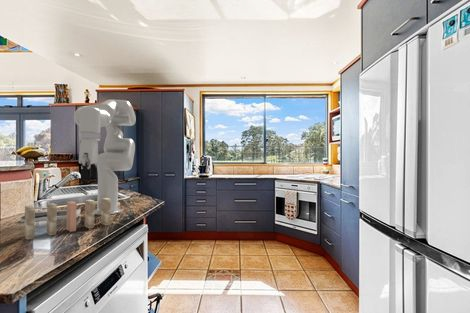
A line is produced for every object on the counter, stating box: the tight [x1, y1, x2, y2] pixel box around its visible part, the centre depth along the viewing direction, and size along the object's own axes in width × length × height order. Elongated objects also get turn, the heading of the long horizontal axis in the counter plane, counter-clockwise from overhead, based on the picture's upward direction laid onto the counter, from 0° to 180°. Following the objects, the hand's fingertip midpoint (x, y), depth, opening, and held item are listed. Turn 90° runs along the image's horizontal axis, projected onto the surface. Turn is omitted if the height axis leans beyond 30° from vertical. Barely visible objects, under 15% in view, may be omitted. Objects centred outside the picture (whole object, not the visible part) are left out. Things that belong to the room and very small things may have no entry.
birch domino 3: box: [84, 199, 96, 229], centre depth 103 cm, size 2×5×11 cm, turn 48°
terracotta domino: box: [65, 200, 78, 232], centre depth 99 cm, size 2×5×11 cm, turn 49°
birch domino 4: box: [100, 198, 112, 226], centre depth 108 cm, size 2×5×11 cm, turn 48°
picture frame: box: [19, 208, 82, 223], centre depth 120 cm, size 16×3×21 cm
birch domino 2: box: [46, 202, 58, 236], centre depth 94 cm, size 2×5×11 cm, turn 49°
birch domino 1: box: [24, 204, 36, 240], centre depth 89 cm, size 2×5×11 cm, turn 48°
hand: (89, 177), depth 104 cm, fingers open, 9 cm apart
